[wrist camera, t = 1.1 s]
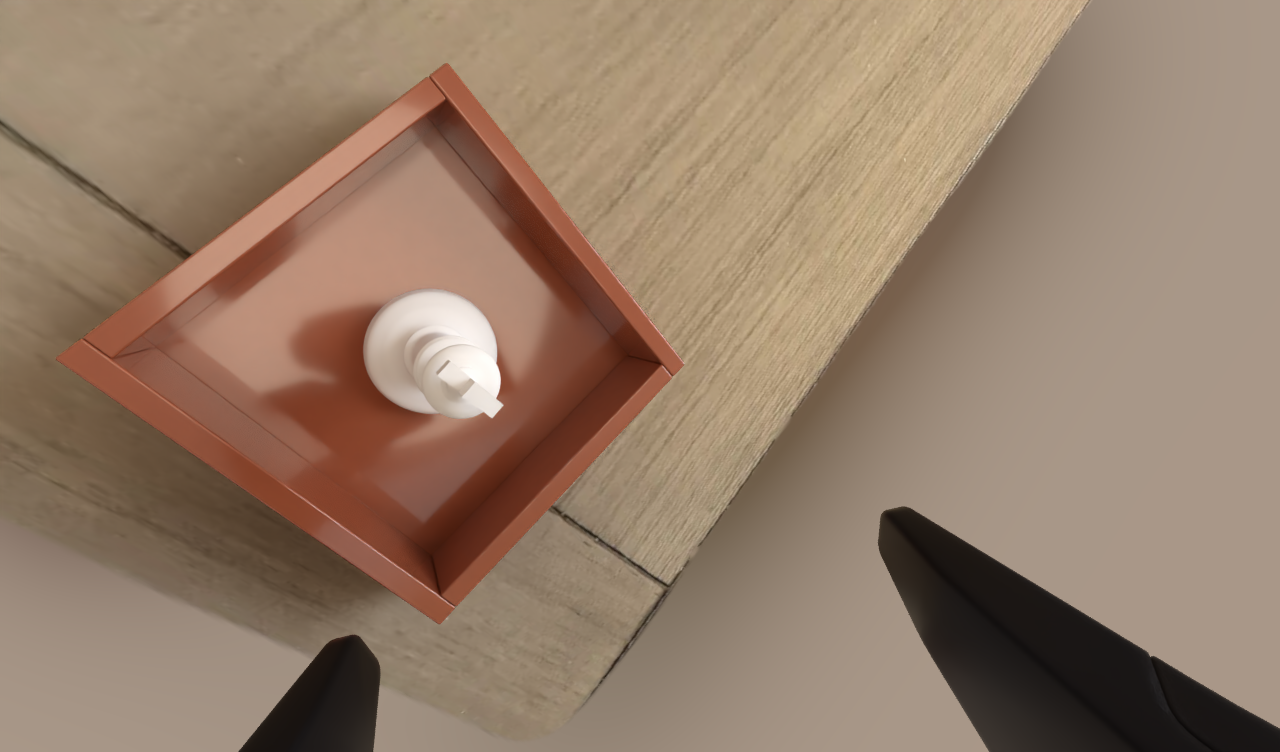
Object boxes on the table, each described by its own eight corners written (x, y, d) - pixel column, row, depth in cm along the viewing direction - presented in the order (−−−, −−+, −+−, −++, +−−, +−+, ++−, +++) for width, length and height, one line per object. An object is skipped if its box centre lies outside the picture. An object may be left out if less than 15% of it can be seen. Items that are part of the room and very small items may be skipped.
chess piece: (439, 436, 22) (485, 535, 13) (332, 358, 20) (300, 412, 11) (520, 346, 23) (613, 381, 14) (426, 262, 21) (465, 241, 12)
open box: (429, 576, 23) (439, 625, 20) (114, 345, 17) (53, 358, 14) (645, 354, 26) (686, 364, 23) (434, 98, 20) (447, 60, 17)
